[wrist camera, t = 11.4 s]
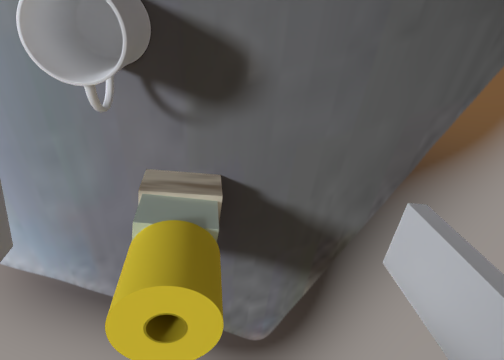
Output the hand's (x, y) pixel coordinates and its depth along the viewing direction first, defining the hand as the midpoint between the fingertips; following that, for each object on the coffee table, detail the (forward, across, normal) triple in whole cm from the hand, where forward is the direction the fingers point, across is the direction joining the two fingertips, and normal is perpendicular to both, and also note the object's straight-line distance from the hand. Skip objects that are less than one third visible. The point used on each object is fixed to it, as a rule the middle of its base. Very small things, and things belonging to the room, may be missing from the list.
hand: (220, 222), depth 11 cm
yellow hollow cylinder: (+21, -2, -19) cm, 29 cm away
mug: (+33, -11, +1) cm, 35 cm away
